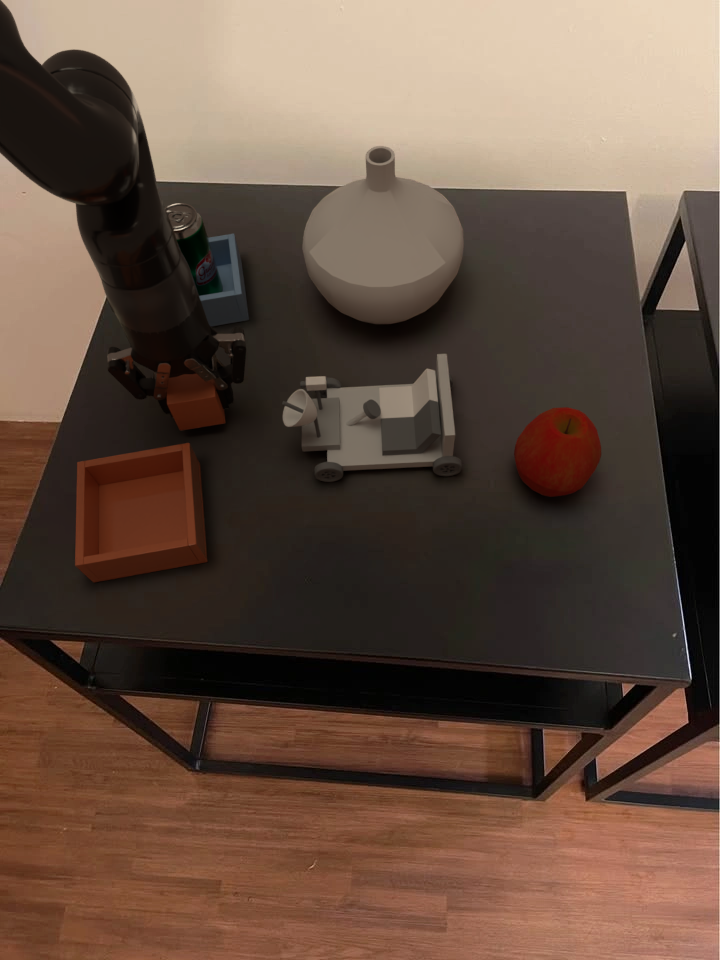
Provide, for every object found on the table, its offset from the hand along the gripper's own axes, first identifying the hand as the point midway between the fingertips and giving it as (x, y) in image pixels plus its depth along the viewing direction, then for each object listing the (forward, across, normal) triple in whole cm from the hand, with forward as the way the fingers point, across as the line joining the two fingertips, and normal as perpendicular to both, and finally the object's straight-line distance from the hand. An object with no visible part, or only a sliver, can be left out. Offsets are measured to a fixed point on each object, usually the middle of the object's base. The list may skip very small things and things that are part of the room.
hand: (200, 406), depth 79 cm
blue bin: (+2, -1, -18) cm, 18 cm away
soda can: (+2, -1, -18) cm, 18 cm away
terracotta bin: (+2, +7, +12) cm, 14 cm away
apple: (+2, -35, +15) cm, 38 cm away
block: (0, 0, 0) cm, 0 cm away
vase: (+2, -23, -14) cm, 27 cm away
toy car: (+2, -18, +6) cm, 19 cm away
